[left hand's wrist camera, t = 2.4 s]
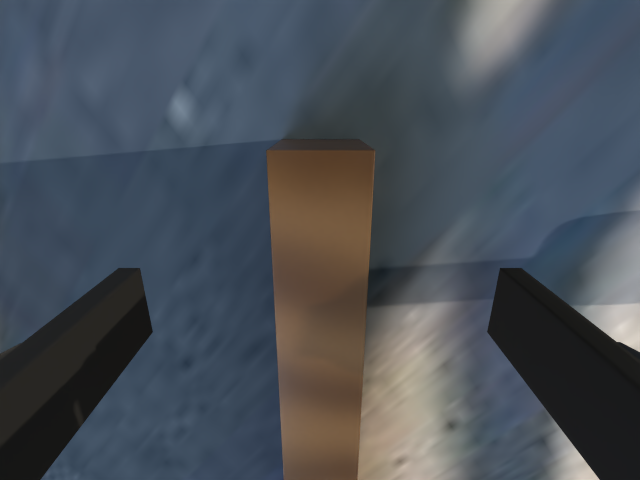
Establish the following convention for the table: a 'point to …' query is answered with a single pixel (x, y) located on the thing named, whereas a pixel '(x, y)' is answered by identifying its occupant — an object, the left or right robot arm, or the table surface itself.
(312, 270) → the post
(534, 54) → the table surface
